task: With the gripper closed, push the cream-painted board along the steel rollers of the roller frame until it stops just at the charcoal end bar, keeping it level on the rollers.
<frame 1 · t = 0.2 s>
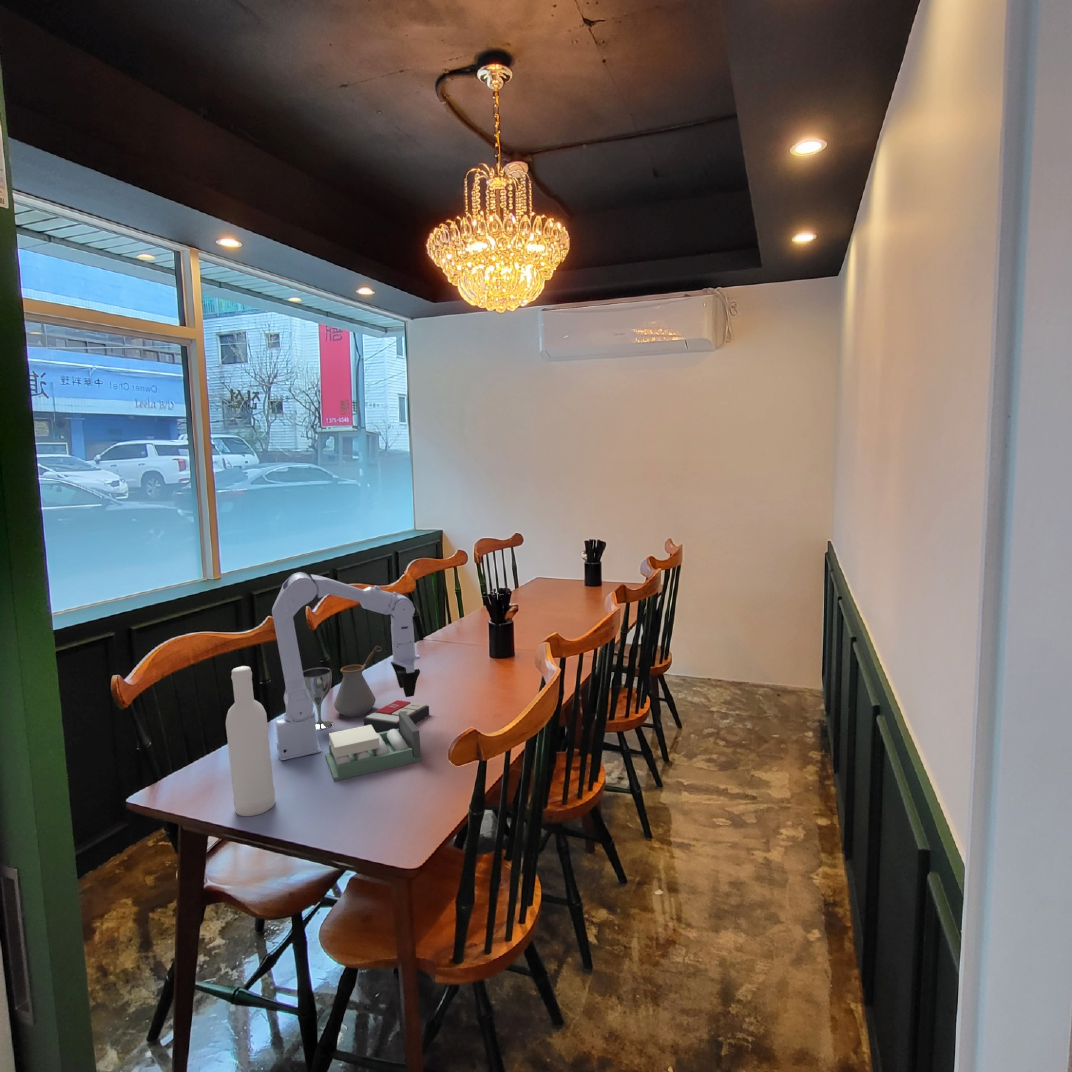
hand: (406, 691, 177), 10 cm above the table, tool pointing down, fingers open, 7 cm apart
bottle: (255, 807, 141), on the table
board: (354, 740, 159), point 5 cm above the table, slide at 0.0 cm
wine glass: (320, 726, 183), on the table
roller frame: (370, 759, 161), on the table
coffee pot: (364, 705, 196), on the table
calculator: (397, 724, 183), on the table
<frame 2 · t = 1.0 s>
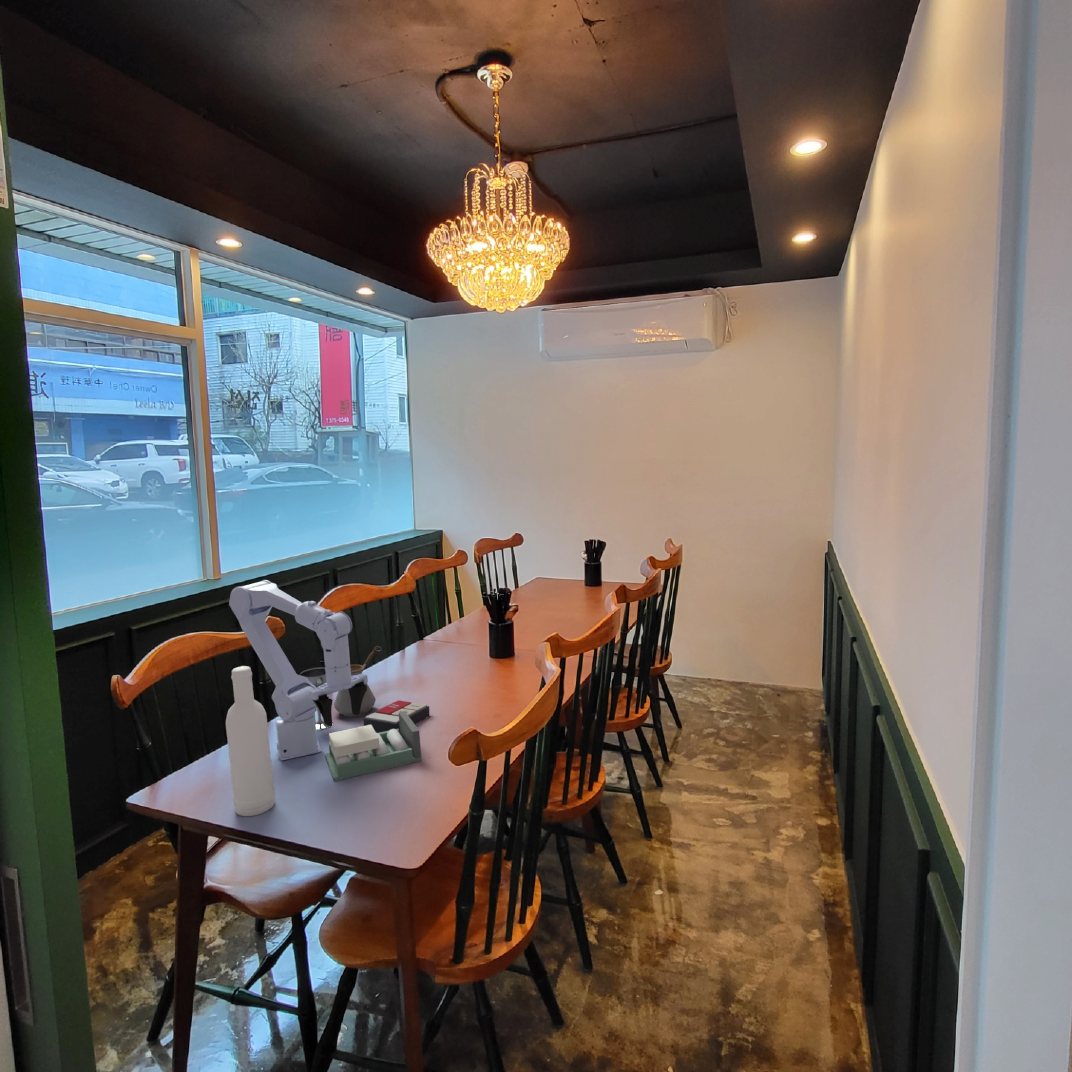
hand: (342, 719, 161), 10 cm above the table, tool pointing down, fingers open, 7 cm apart
nothing on the table moved.
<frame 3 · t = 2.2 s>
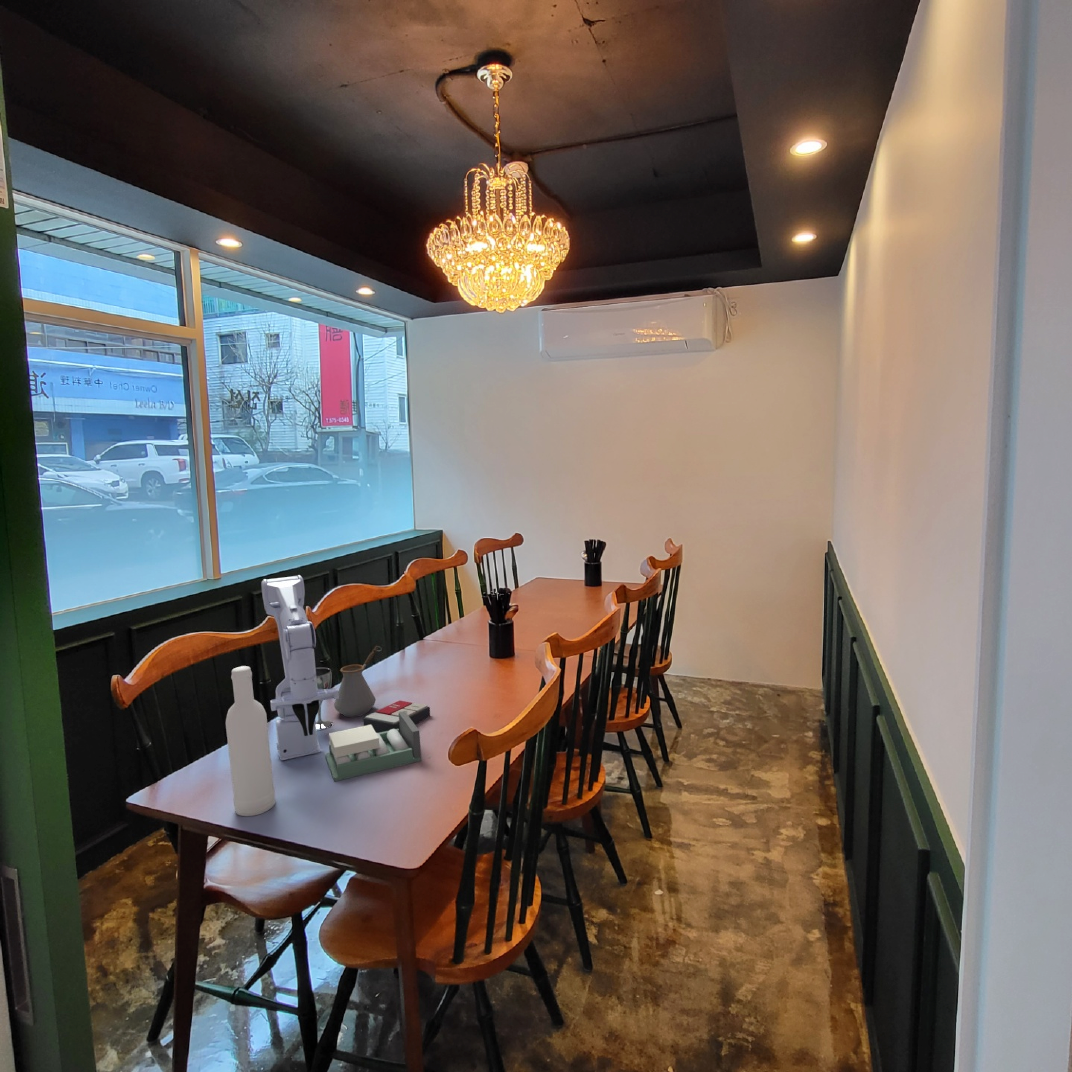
hand: (308, 733, 154), 9 cm above the table, tool pointing down, fingers closed
nothing on the table moved.
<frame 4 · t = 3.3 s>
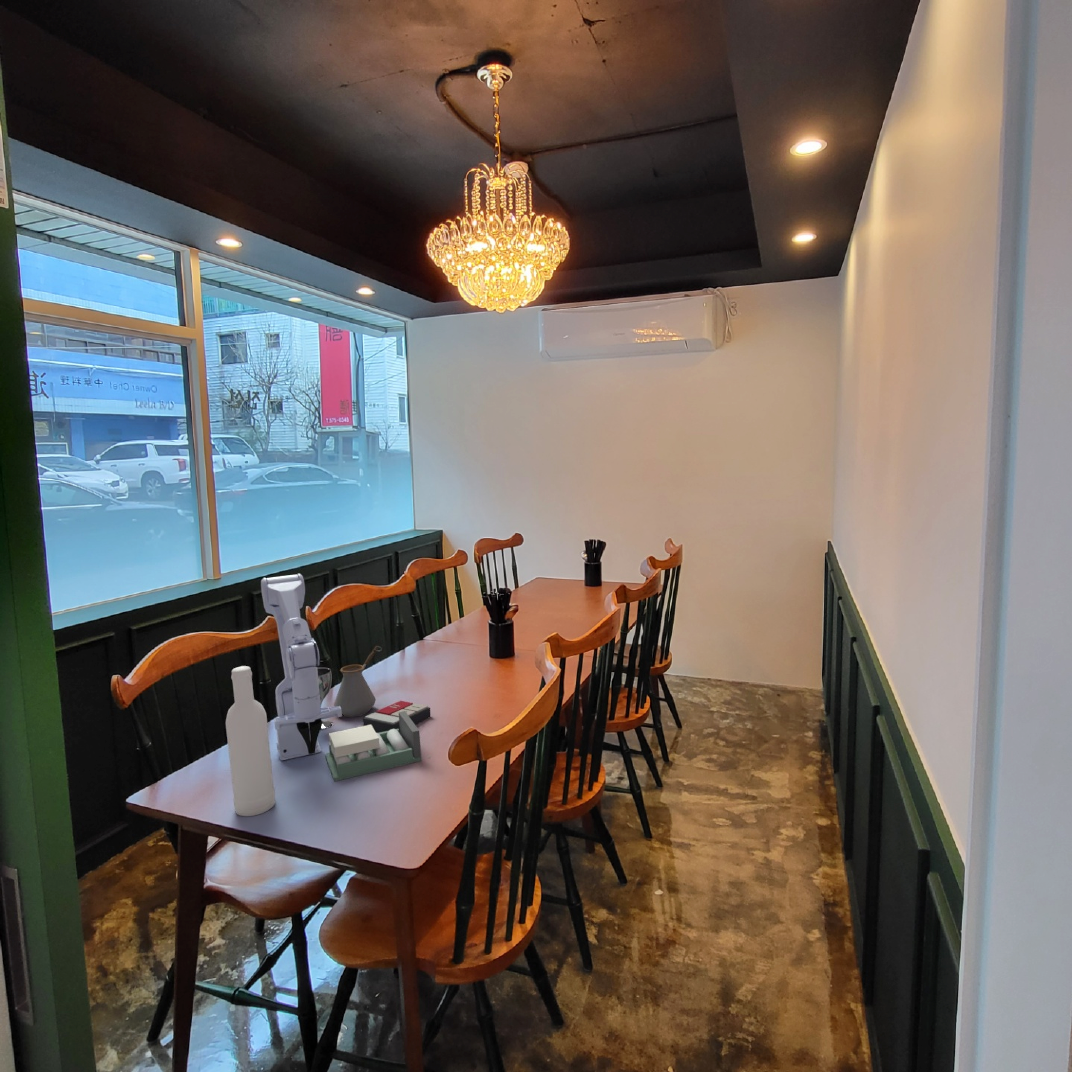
hand: (311, 751, 155), 5 cm above the table, tool pointing down, fingers closed
nothing on the table moved.
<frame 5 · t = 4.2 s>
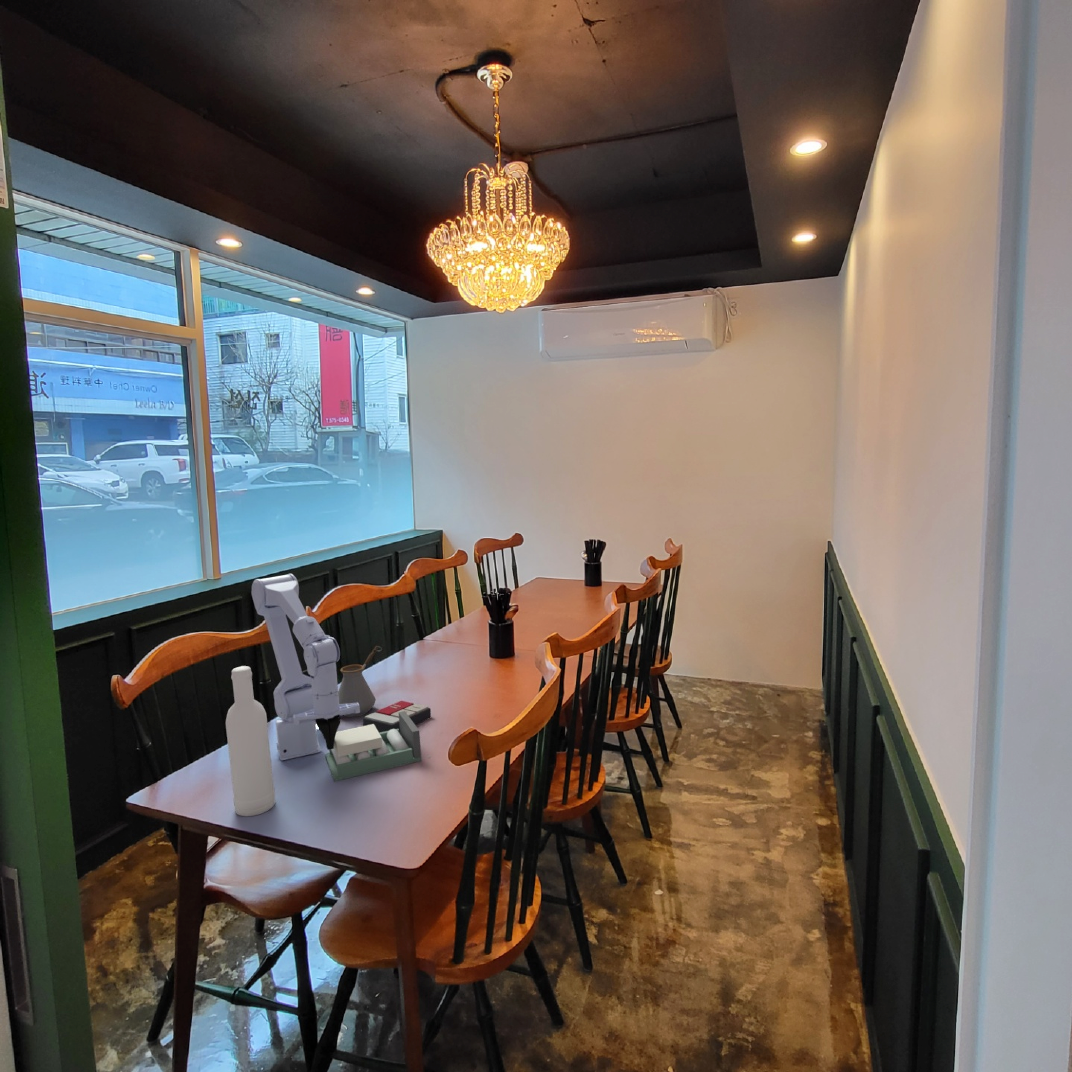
hand: (330, 747, 157), 5 cm above the table, tool pointing down, fingers closed
board: (356, 739, 159), point 5 cm above the table, slide at 0.6 cm, touching gripper
everything else where it was.
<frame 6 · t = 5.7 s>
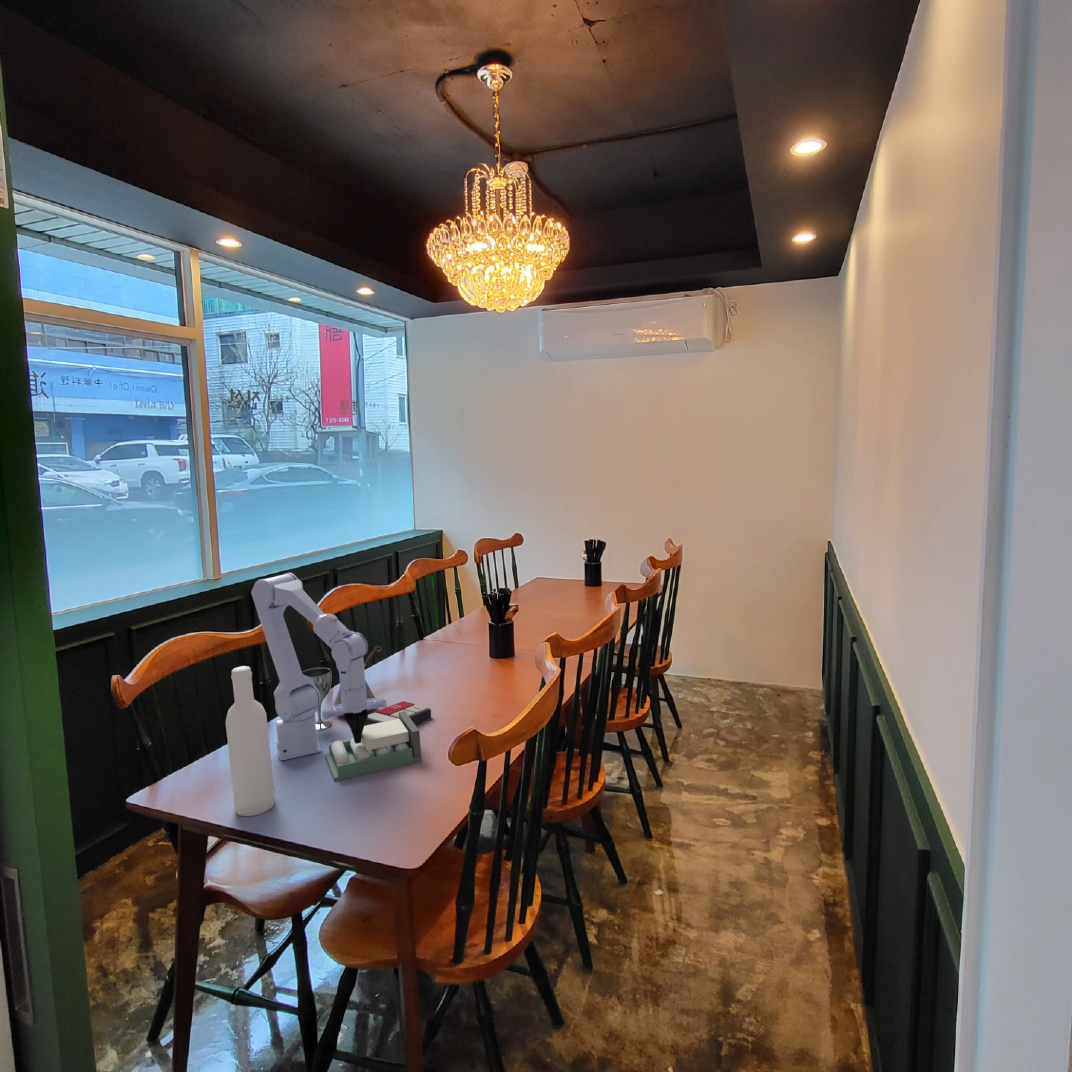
hand: (357, 741, 159), 5 cm above the table, tool pointing down, fingers closed
board: (383, 734, 162), point 6 cm above the table, slide at 6.9 cm, touching gripper
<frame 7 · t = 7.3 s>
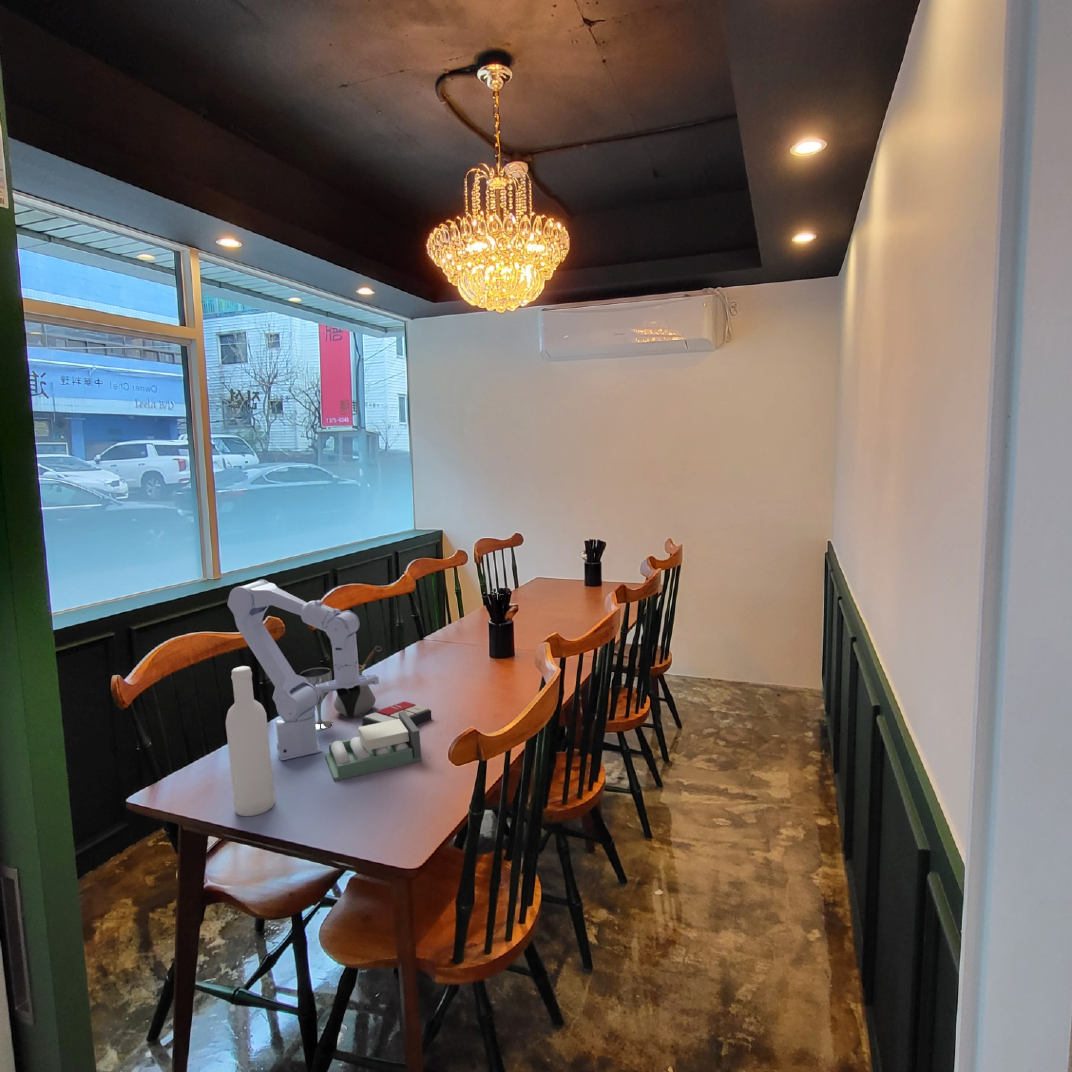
hand: (350, 717, 163), 9 cm above the table, tool pointing down, fingers closed
board: (383, 734, 162), point 5 cm above the table, slide at 6.9 cm
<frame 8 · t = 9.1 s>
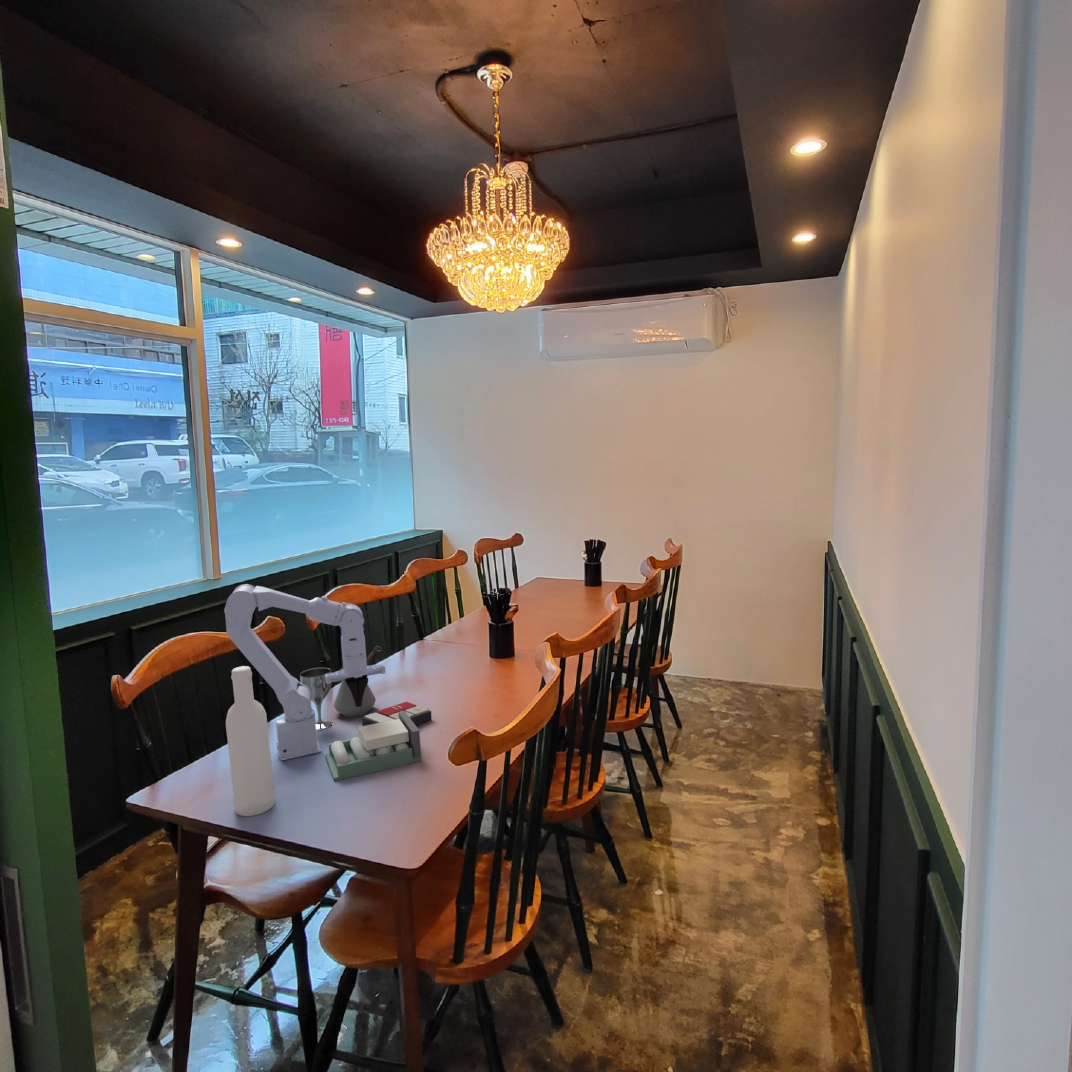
hand: (358, 705, 171), 9 cm above the table, tool pointing down, fingers closed
at the end: board slide at 6.9 cm; board moved 6.9 cm from its start; board tilted 0° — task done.
